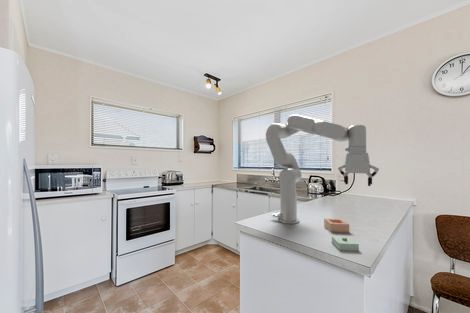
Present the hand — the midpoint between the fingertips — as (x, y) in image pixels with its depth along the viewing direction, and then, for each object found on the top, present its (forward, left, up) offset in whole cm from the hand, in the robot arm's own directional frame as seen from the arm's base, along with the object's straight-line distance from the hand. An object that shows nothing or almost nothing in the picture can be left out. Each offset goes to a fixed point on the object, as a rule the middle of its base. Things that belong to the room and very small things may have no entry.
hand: (357, 184), depth 99 cm
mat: (-13, -17, -24) cm, 32 cm away
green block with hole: (-13, -17, -24) cm, 32 cm away
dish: (-8, +5, -24) cm, 26 cm away
